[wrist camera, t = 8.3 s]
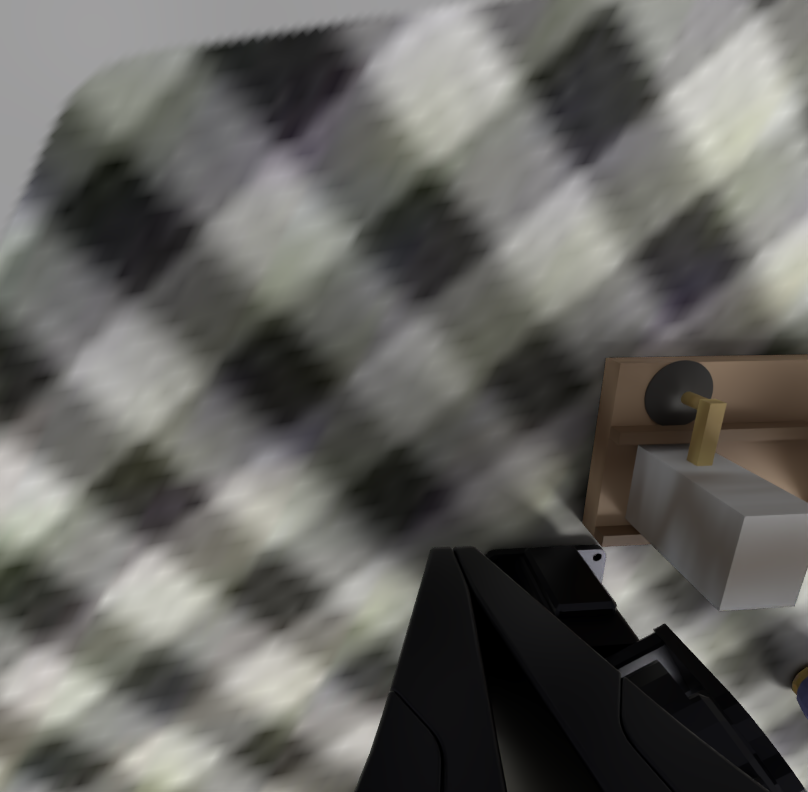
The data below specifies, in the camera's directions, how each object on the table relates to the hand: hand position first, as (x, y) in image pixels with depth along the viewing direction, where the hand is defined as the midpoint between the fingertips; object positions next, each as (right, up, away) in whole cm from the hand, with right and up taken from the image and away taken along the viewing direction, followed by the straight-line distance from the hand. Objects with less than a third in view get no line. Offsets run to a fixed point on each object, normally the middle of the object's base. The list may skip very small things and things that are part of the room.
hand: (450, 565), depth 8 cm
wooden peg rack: (+19, +1, +14) cm, 23 cm away
